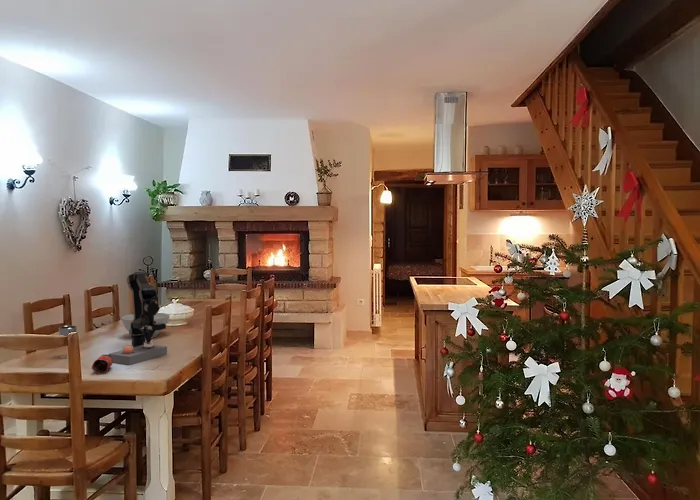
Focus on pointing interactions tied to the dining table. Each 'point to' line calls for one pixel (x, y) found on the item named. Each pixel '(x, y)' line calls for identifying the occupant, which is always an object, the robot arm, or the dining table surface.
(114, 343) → the dining table surface
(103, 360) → the beverage can
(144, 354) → the press block
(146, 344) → the grey rounded piece
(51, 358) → the dining table surface
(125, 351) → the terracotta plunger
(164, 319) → the decorative bowl
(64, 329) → the wine glass
